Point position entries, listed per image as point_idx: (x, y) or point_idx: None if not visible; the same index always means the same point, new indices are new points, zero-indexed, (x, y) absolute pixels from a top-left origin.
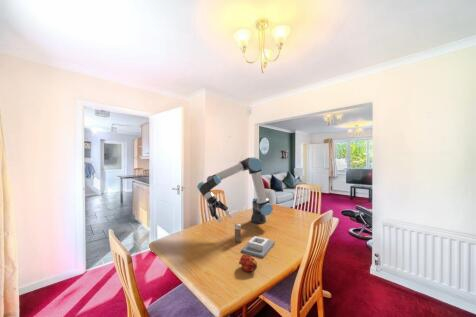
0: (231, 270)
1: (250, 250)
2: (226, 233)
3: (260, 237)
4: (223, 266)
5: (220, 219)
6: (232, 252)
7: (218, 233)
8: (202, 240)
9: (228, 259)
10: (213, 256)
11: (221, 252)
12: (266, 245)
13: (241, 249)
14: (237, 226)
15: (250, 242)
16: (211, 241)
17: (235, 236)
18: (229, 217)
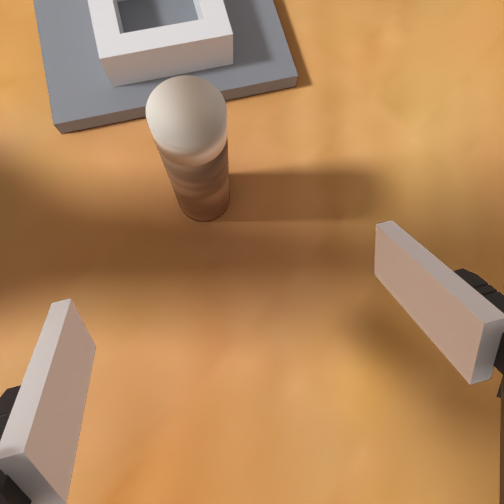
0: (470, 6)
1: (259, 25)
2: (131, 421)
3: (91, 11)
4: (484, 56)
5: (407, 239)
6: (344, 121)
7: (190, 492)
8: (414, 469)
9: (419, 83)
10: (476, 175)
11: (403, 175)
12: None
13: (294, 74)
14: (217, 90)
15: (226, 17)
16: (359, 382)
17: (228, 175)
18: (89, 344)
